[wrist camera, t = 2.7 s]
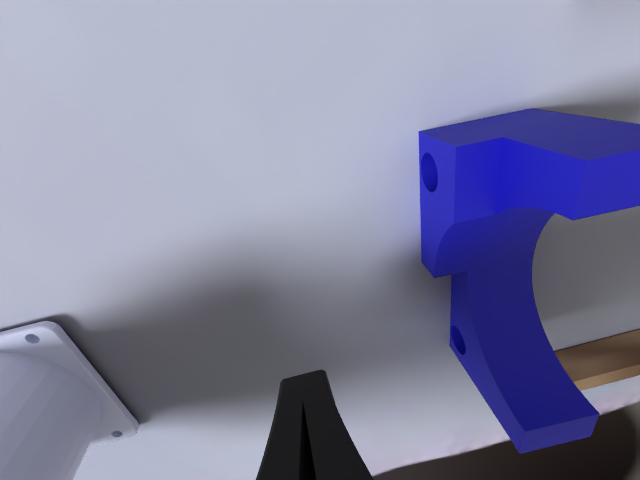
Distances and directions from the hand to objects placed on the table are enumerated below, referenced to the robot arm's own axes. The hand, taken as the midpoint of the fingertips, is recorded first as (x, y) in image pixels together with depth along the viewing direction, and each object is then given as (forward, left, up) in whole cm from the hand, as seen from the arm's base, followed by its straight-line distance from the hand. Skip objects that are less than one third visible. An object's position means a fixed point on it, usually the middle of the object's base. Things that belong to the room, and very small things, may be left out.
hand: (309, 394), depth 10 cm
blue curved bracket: (+8, 0, -6) cm, 10 cm away
